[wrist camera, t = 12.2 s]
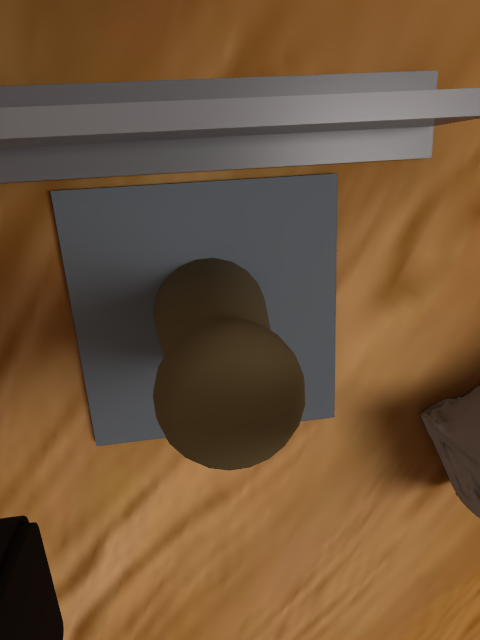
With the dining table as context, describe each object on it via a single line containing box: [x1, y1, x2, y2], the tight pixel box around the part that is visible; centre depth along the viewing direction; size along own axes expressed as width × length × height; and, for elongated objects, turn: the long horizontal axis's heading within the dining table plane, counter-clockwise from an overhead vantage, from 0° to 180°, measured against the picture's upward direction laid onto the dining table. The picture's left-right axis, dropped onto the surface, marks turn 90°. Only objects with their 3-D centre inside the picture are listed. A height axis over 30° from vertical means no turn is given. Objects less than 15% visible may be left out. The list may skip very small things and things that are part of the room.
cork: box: [153, 258, 305, 470], centre depth 19 cm, size 6×6×11 cm
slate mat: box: [50, 174, 337, 446], centre depth 25 cm, size 14×14×1 cm
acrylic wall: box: [0, 70, 480, 183], centre depth 20 cm, size 22×4×6 cm, turn 93°
